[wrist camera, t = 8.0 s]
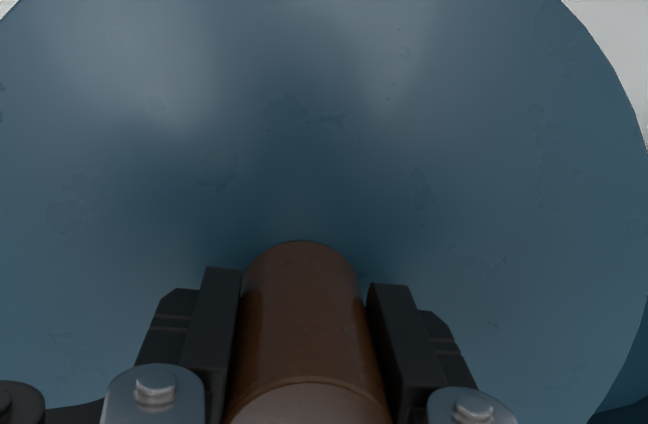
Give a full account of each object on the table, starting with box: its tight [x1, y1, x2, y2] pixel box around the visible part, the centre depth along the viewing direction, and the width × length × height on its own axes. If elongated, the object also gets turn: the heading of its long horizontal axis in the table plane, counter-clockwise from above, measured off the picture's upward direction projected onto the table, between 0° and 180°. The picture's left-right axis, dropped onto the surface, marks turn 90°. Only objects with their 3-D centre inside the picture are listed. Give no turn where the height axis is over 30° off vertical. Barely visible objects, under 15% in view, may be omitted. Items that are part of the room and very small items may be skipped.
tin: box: [586, 296, 648, 424], centre depth 26 cm, size 15×15×10 cm
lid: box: [0, 0, 648, 424], centre depth 12 cm, size 16×16×6 cm
